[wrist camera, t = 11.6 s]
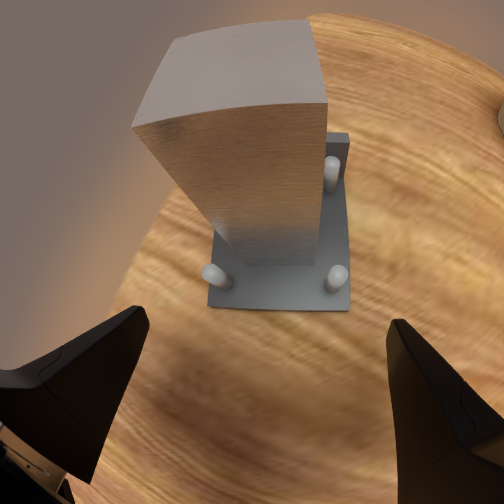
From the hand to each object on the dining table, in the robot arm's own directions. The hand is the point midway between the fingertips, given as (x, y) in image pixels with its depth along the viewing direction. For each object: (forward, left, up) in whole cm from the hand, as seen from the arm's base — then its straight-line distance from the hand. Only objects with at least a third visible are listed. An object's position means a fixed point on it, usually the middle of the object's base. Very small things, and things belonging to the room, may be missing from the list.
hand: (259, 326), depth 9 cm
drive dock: (+6, +2, -9) cm, 11 cm away
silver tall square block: (+6, +2, -8) cm, 10 cm away
